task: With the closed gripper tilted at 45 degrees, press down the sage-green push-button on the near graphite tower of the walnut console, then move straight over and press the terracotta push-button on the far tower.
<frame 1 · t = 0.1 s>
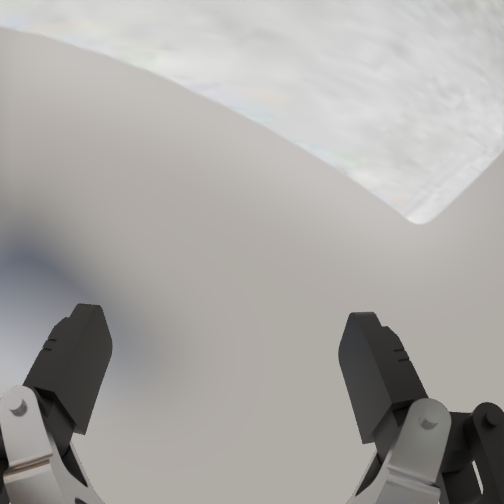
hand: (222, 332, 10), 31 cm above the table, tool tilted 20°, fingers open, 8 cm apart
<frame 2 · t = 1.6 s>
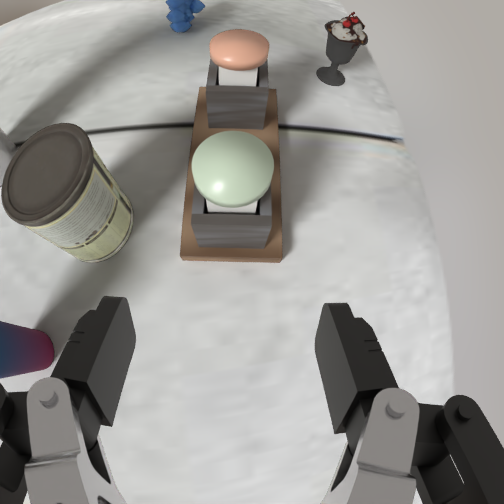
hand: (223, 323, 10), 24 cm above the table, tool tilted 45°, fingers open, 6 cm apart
console: (234, 165, 39), on the table
button b: (238, 67, 31), point 10 cm above the table, slide at 0.0 cm
cup: (40, 350, 31), on the table
button a: (232, 185, 27), point 10 cm above the table, slide at 0.0 cm
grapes: (188, 31, 47), on the table
coffee can: (97, 224, 36), on the table
sundae: (330, 77, 45), on the table
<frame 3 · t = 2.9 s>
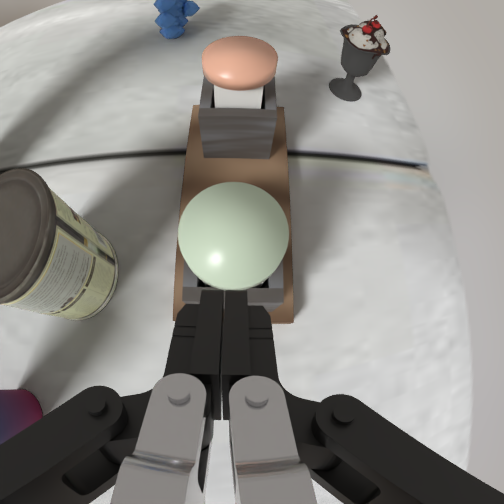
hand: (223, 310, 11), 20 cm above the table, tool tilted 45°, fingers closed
console: (235, 203, 33), on the table
button b: (238, 84, 26), point 10 cm above the table, slide at 0.0 cm
cup: (27, 409, 25), on the table
button a: (233, 249, 21), point 10 cm above the table, slide at 0.0 cm
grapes: (181, 37, 42), on the table
coffee can: (78, 274, 30), on the table
sundae: (345, 90, 39), on the table
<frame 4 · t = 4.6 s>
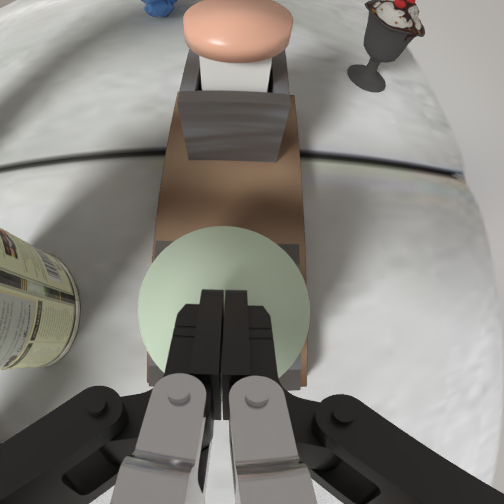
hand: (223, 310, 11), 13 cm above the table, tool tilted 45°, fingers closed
console: (230, 222, 25), on the table
button b: (236, 59, 18), point 10 cm above the table, slide at 0.0 cm
button a: (225, 316, 15), point 8 cm above the table, slide at 1.5 cm, touching gripper
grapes: (170, 16, 33), on the table
coffee can: (35, 310, 22), on the table
sundae: (366, 79, 31), on the table
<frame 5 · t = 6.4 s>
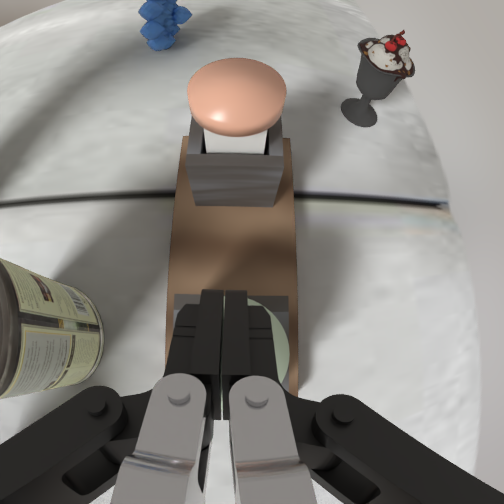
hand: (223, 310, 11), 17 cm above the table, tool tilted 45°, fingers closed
console: (232, 260, 29), on the table
button b: (236, 121, 22), point 10 cm above the table, slide at 0.0 cm
button a: (230, 351, 20), point 7 cm above the table, slide at 2.6 cm
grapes: (172, 47, 37), on the table
coffee can: (62, 336, 26), on the table
sundae: (358, 113, 35), on the table
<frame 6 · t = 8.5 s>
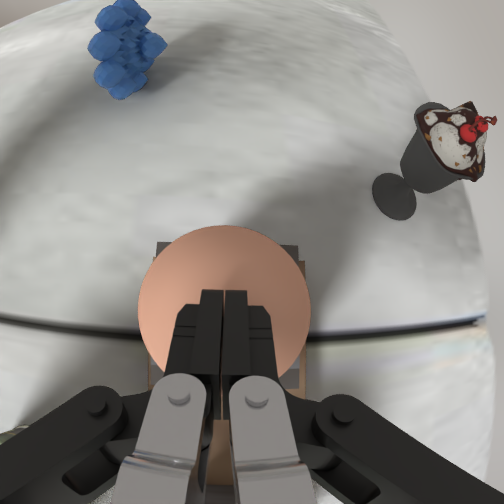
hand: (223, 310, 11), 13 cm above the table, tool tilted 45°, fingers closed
console: (226, 425, 21), on the table
button b: (225, 316, 15), point 9 cm above the table, slide at 1.2 cm, touching gripper
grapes: (145, 88, 29), on the table
sundae: (394, 197, 27), on the table
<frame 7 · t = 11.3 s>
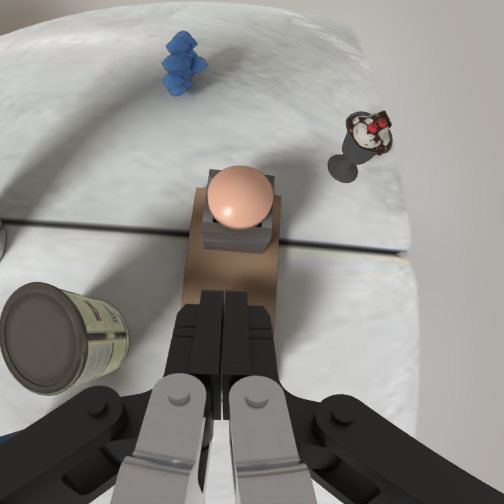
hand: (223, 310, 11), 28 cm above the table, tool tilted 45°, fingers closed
console: (229, 290, 39), on the table
button b: (238, 208, 34), point 7 cm above the table, slide at 2.6 cm
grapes: (188, 90, 46), on the table
coffee can: (94, 338, 35), on the table
sundae: (342, 169, 45), on the table
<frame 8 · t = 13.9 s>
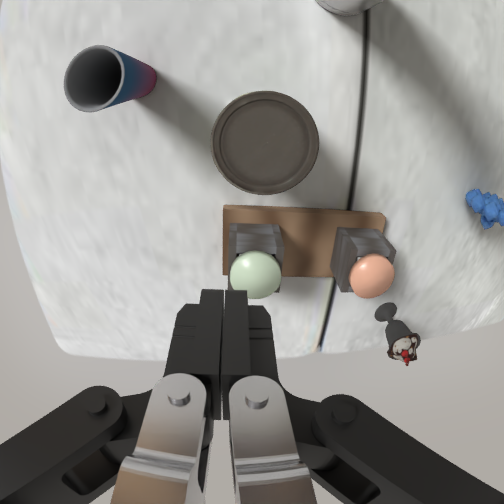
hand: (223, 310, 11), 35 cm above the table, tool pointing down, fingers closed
console: (303, 240, 49), on the table
button b: (364, 265, 43), point 7 cm above the table, slide at 2.6 cm
cup: (139, 80, 36), on the table
button a: (254, 263, 42), point 7 cm above the table, slide at 2.6 cm
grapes: (470, 198, 46), on the table
coffee can: (257, 127, 40), on the table
sundae: (385, 311, 58), on the table
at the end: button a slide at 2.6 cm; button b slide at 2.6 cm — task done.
